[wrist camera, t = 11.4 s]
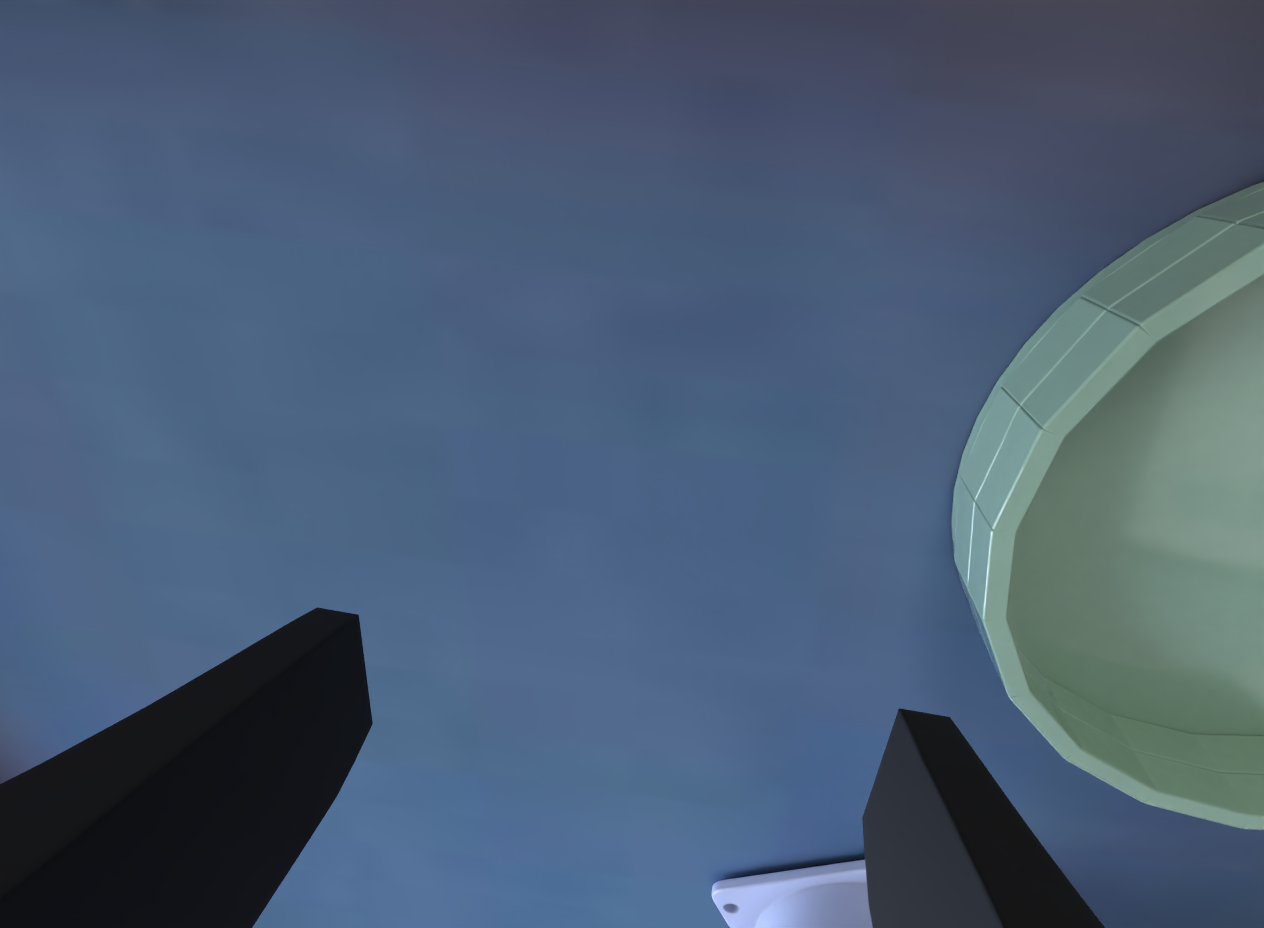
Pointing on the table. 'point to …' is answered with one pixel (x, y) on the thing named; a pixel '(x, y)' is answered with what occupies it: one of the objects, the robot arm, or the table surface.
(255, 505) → the table surface
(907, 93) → the table surface
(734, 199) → the table surface
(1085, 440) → the pan
